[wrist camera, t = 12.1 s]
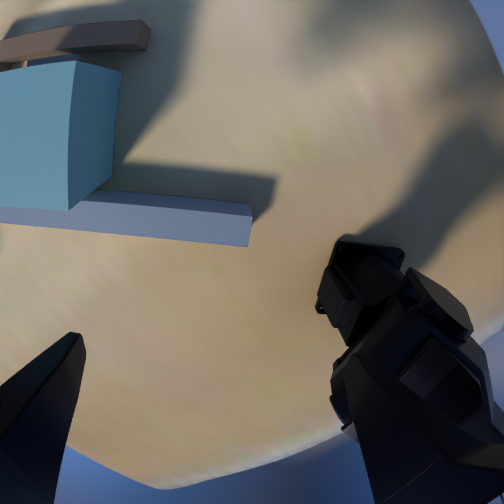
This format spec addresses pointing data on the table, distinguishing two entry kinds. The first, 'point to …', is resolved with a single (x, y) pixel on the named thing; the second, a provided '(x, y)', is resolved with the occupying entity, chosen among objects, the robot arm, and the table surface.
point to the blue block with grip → (56, 131)
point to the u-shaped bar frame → (119, 202)
